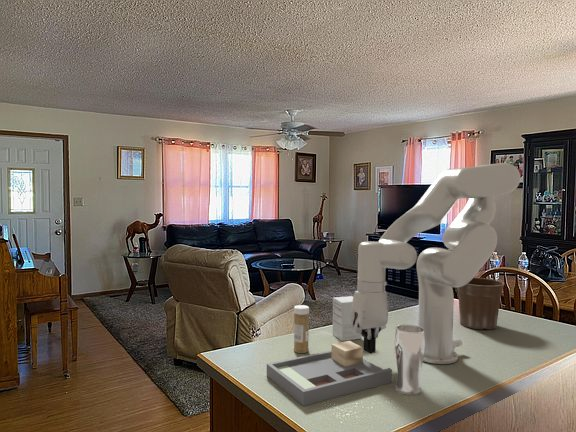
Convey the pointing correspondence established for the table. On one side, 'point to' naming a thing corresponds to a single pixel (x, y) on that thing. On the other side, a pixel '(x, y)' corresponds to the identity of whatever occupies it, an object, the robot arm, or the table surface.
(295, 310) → the sprinkles bottle
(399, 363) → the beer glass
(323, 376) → the box
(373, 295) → the robot arm
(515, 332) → the table surface
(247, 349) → the table surface
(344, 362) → the maple block
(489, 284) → the plant pot
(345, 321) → the supplement box
